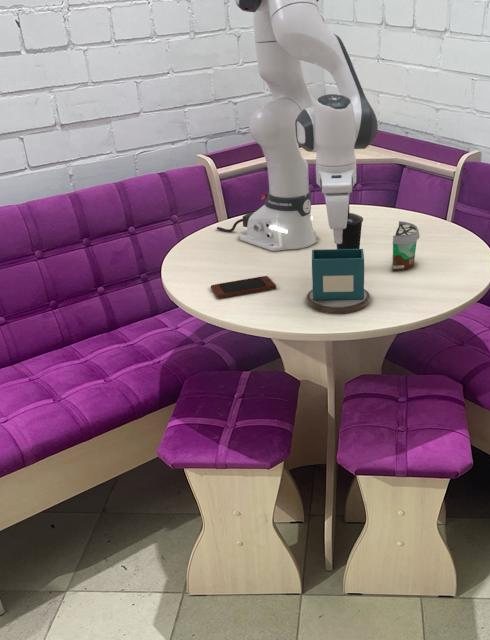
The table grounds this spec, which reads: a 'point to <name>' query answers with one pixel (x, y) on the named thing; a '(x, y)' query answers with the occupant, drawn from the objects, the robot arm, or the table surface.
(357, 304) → the disc
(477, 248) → the table surface
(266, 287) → the smartphone
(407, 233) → the food container
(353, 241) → the drinking cup
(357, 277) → the bin
